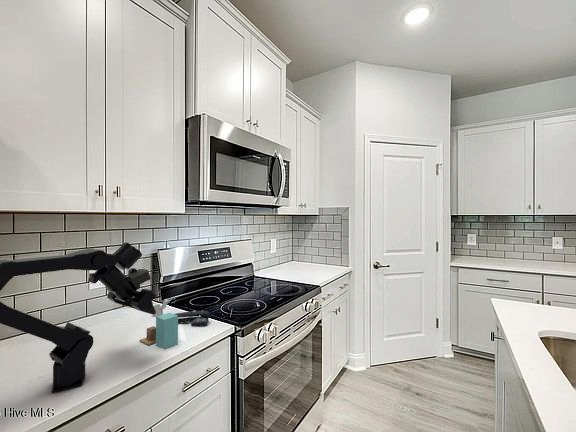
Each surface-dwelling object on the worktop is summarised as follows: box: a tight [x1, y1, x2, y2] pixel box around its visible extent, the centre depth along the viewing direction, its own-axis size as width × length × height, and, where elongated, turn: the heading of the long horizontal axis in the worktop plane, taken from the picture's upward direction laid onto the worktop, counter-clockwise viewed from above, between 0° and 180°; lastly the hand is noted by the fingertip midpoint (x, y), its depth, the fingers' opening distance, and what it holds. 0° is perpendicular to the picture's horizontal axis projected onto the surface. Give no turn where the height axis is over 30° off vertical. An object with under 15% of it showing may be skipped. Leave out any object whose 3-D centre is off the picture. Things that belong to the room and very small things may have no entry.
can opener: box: [174, 309, 210, 327], centre depth 122 cm, size 18×7×6 cm, turn 86°
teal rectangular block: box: [155, 312, 179, 350], centre depth 102 cm, size 5×5×10 cm
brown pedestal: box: [138, 326, 156, 347], centre depth 105 cm, size 6×6×5 cm
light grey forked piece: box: [152, 298, 170, 318], centre depth 130 cm, size 7×2×8 cm, turn 80°
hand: (146, 310), depth 97 cm, fingers open, 9 cm apart
